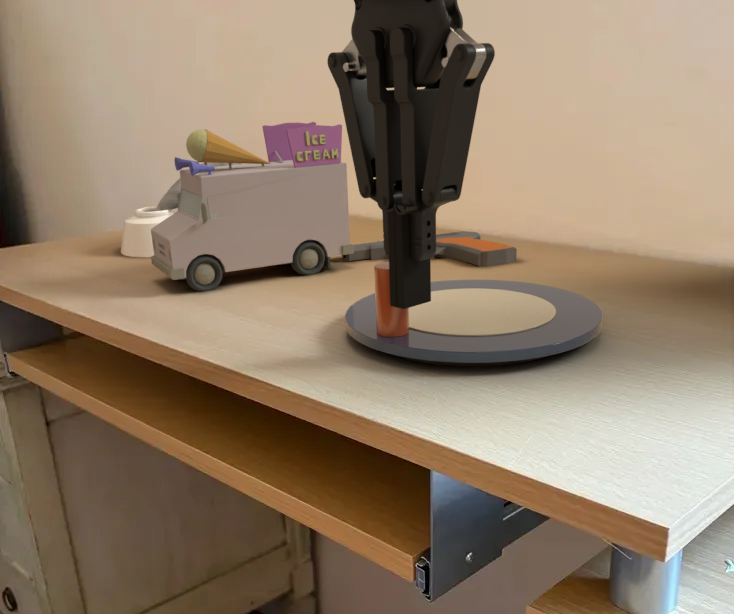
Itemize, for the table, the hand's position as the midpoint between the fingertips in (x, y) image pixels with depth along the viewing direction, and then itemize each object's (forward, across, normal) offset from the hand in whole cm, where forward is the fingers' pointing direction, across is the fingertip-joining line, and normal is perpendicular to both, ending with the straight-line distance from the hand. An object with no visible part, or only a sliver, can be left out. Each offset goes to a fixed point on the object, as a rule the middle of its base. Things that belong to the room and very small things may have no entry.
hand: (410, 303), depth 59 cm
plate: (+3, -1, +8) cm, 9 cm away
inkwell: (+4, -51, +13) cm, 53 cm away
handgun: (+4, -22, +24) cm, 33 cm away
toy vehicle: (+4, -31, +8) cm, 33 cm away
